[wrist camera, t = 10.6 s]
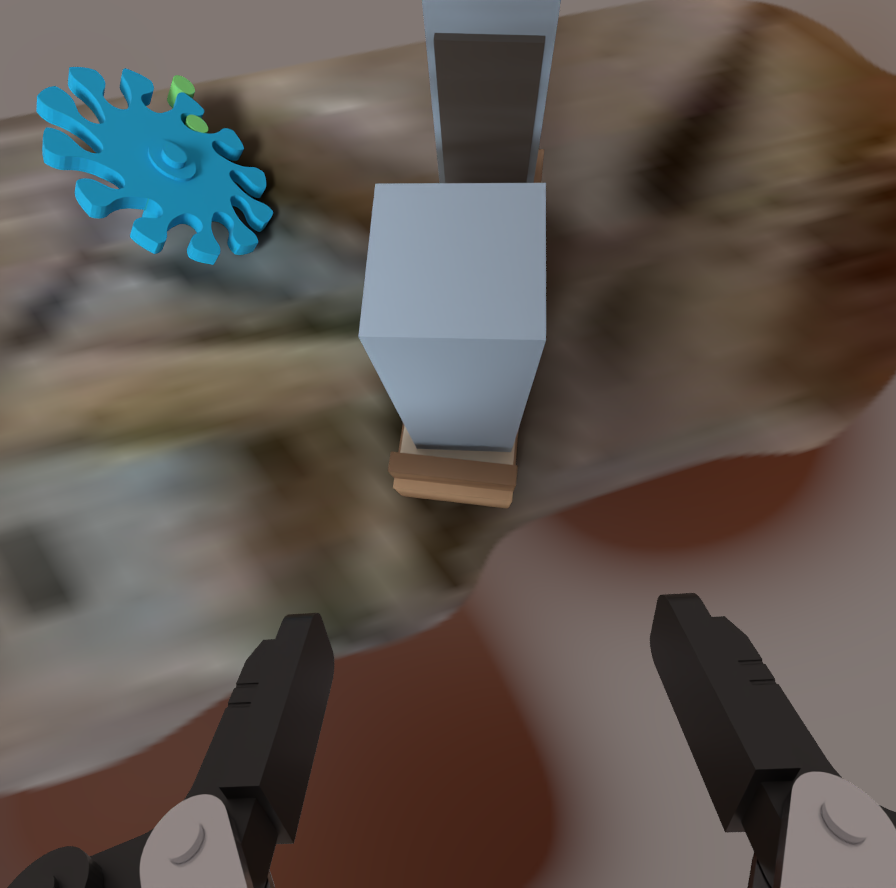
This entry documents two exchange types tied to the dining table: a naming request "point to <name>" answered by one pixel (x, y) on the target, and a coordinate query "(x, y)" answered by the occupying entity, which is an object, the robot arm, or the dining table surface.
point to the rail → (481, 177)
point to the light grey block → (457, 307)
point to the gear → (154, 163)
